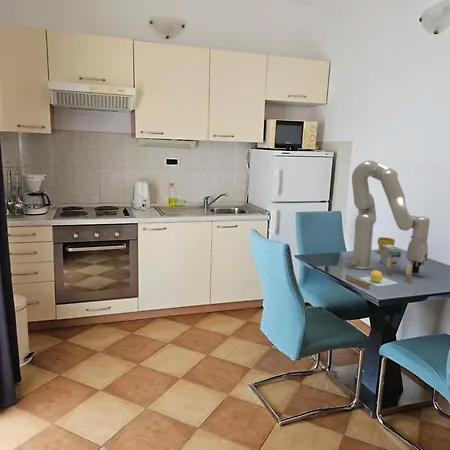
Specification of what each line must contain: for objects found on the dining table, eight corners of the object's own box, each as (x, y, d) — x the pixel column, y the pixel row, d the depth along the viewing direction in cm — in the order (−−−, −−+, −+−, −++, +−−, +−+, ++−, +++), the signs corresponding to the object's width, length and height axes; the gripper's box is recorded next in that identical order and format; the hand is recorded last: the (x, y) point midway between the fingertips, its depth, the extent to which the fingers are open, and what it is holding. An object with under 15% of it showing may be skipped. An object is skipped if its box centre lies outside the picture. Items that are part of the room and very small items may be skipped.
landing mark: (378, 286, 205) (378, 286, 205) (357, 278, 217) (357, 278, 217) (398, 283, 211) (398, 283, 211) (377, 275, 223) (377, 275, 223)
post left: (388, 275, 224) (389, 259, 222) (384, 273, 226) (386, 258, 224) (391, 274, 225) (393, 258, 223) (387, 273, 227) (389, 257, 226)
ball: (379, 270, 207) (386, 273, 210) (369, 267, 213) (377, 271, 216) (375, 281, 207) (382, 285, 210) (365, 278, 212) (373, 282, 215)
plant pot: (396, 255, 267) (398, 240, 265) (383, 256, 264) (384, 241, 262) (386, 251, 277) (387, 236, 275) (372, 251, 274) (374, 237, 272)
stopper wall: (368, 289, 200) (368, 284, 200) (345, 279, 215) (345, 274, 214) (369, 289, 201) (370, 284, 200) (346, 279, 215) (347, 274, 214)
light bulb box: (400, 266, 241) (402, 248, 239) (390, 267, 240) (392, 249, 238) (389, 261, 252) (391, 244, 250) (379, 262, 250) (381, 244, 248)
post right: (408, 282, 212) (410, 265, 211) (403, 281, 215) (405, 264, 213) (411, 282, 213) (413, 265, 212) (407, 280, 216) (409, 264, 214)
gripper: (402, 237, 227) (399, 269, 230) (426, 243, 213) (422, 277, 217) (412, 236, 230) (408, 268, 233) (436, 242, 217) (431, 276, 220)
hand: (415, 272), depth 225 cm, fingers closed
